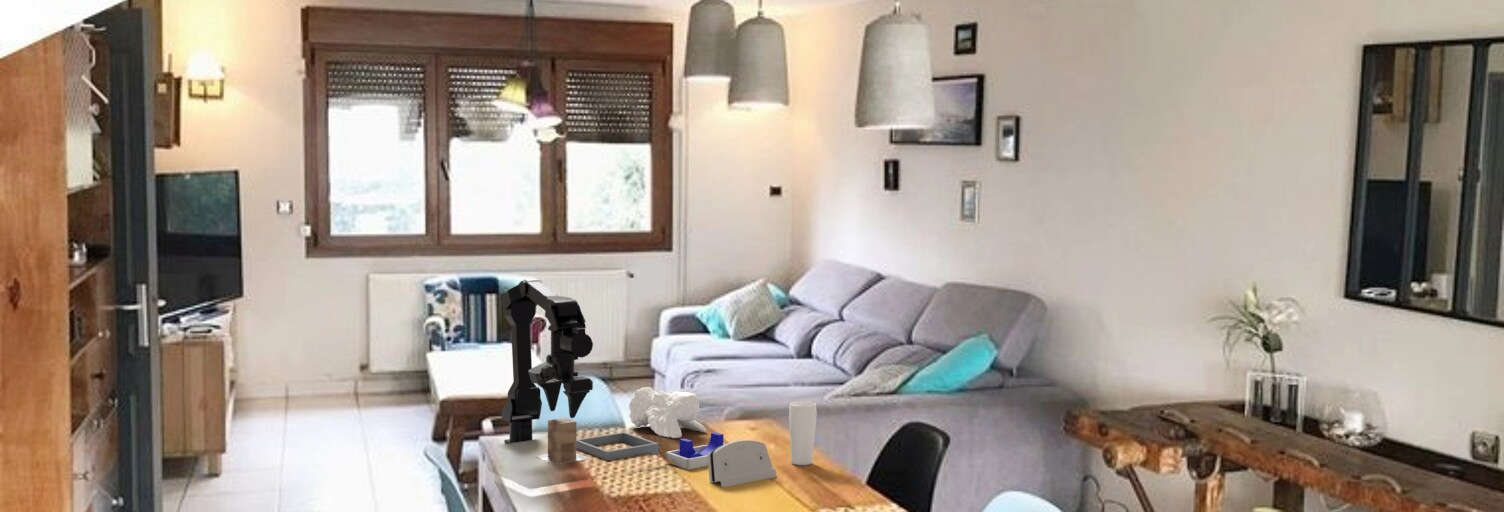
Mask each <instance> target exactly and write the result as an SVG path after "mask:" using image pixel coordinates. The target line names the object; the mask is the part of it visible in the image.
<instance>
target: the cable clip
mask: <svg viewBox="0 0 1504 512" xmlns="http://www.w3.org/2000/svg"><path fill="white" fill-rule="evenodd" d="M724 435H725V434H724V433H719V432H717V431H714V432H711V433H710V439H709V442H708V444H707V445H708V446H707V447H706V448H705V449H704V450H703V451H702V452H700V453H697V452H695V450H694V448H693V447H694V445H693V440H691V439H687V438H681V439H679V450H680V454H679V456H682V457H685V458H688V459H689V458H695V457H701V456H706V455H708V454H709V453H710V452H711V451H713V450H714V449H716V448H717V447H719V446H721V445H723V443H724V438H725V437H724Z"/></svg>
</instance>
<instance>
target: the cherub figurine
mask: <svg viewBox="0 0 1504 512" xmlns="http://www.w3.org/2000/svg"><path fill="white" fill-rule="evenodd" d="M628 407H629V411H630V413H629V417H628V418H630V422H631V423H632V424H634V426H635V427H637V428H640V427H647V426H648V425H650V429H651V430H652V431H653V432H654V433H655V434H656V435H658V436H659V437H664V438H666V437H667V438H672V439H679V438H682V435H683V434H682V430H681V428H680V426H681V427H682V428H684V429H687V430H691V431H694V432H697V431H698V432H701V433H706V432H707V428H706V427H705V426H704V425H703V424H701V423H699V422H698V421H696V420H695V419H696V417H697V415H698V414H699V411H700V400H699V397H698V395H696V394H695V393H693V392H690V391H689V392H688V391H683V392H682V391H678V390H677V391H676V390H675V391H673V392H672V393H670V392H666V391H665V390H664V391H663V390H662V389H660V390H659V391H656V390H654V389H653V387H651V386H645V387H640V389H639V388H638V389H636V391H635V393H634V396H632V398H631V399H630V403H629V405H628Z"/></svg>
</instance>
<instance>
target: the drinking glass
mask: <svg viewBox="0 0 1504 512" xmlns="http://www.w3.org/2000/svg"><path fill="white" fill-rule="evenodd" d="M788 407H789V409H788V425H789V440H790V442H789V443H790V462H791V463H792V464H793V465H795V466H801V467H802V466H809V465H812V463H813V461H814V459H813V456H814V455H813V454H814V448H815V447H814V446H815V436H816V427H817V418H818V417H817V415H818V414H817V413H818V412H817V403H816V402H814V401H806V400H798V401H797V400H795V401H791V402H790V403H789V406H788Z"/></svg>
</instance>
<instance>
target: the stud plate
mask: <svg viewBox="0 0 1504 512" xmlns="http://www.w3.org/2000/svg"><path fill="white" fill-rule="evenodd" d="M533 457H534V458H538V459H540V460H542V461H545V462H547V463H550V464H552V465H562V464H567V463H574V462H579V461H584V460H585V461H586V460H591V458H590V457H588V456H585V455H582V454H580V453H577V452H576V458H573V459H567V460H561V461H558V460H555V459H552V458H550V457H548V453H542V454H539V455H534V456H533Z"/></svg>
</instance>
